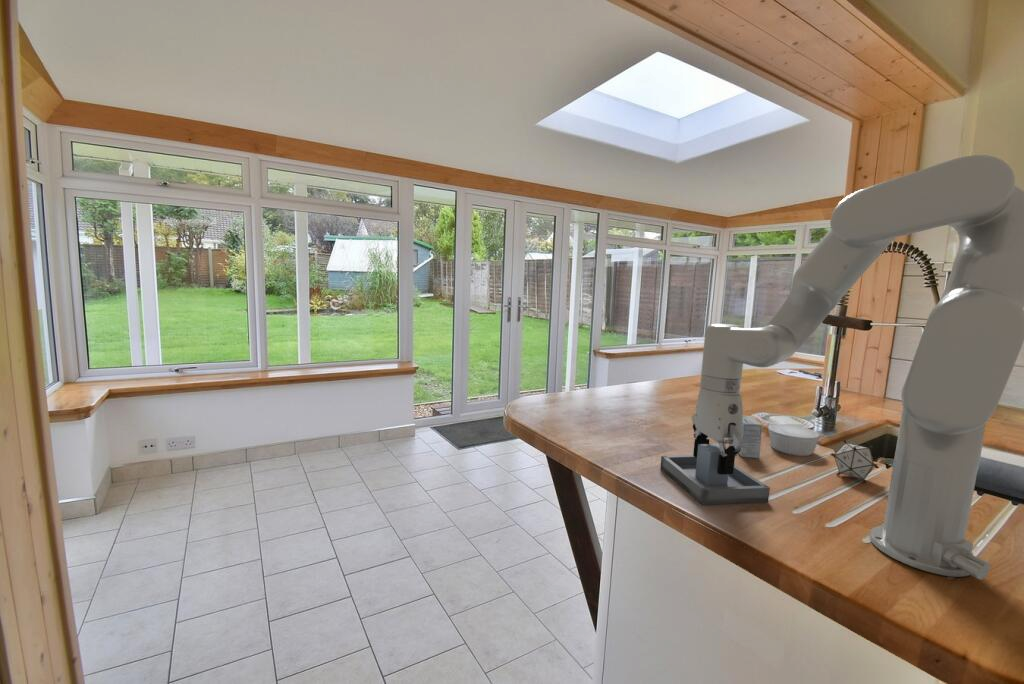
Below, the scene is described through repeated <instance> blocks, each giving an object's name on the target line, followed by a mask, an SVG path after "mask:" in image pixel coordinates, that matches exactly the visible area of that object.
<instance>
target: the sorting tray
mask: <svg viewBox="0 0 1024 684" xmlns="http://www.w3.org/2000/svg"><path fill="white" fill-rule="evenodd" d="M696 463H697V457H694V456H693V454H684V455H683V454H681V455H679V454H678V455H677V454H675V455H661V459H660V470H661V471H663V472H664V474H666V475H667V476H668V477H670V478H671V479H672V480H673V481H674V482H675V483H677V484H678V486H680V487H681V488H682V489H683V490H685V491H686V493H688V494H689V495H690V496H691V497H692V498H694V499H695V500H696V501H697V502H698V503H699V504H700V505H701V506H713V505H735V504H752V503H753V504H757V503H768V502H769V500H770V499H769V497H770V486H768V485H766V484H765V483H763V482H762V481H760V480H758V478H755V477H754V476H753V475H752V474H750V473H748V472H746V471H745V470H743V469H742V468H740V467H738V466H737V465H735V464H734V470H733V474H728V482H727V484H714V485H707V484H706V483H704V482H703V481H702V480H701V479H699V478H698V477H697V476H695V474H696Z"/></svg>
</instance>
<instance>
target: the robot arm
mask: <svg viewBox="0 0 1024 684" xmlns="http://www.w3.org/2000/svg"><path fill="white" fill-rule="evenodd" d="M1015 183H1016V178H1015V174H1014V171H1013V169H1012V168H1011V166H1010V165H1009V163H1007V162H1005V161H1004V160H1003V159H1001V158H999V157H996V156H993V155H987V154H972V155H966V156H961V157H957V158H953V159H950V160H947V161H944V162H941V163H938V164H935V165H934V164H933V165H931V166H929V167H925V168H922V169H920V170H916V171H914V172H911V173H908V174H904V175H901V176H898V177H896V178H892V179H890V180H886V181H883V182H879V183H876V184H874V185H871V186H868V187H864V188H862V189H859V190H857V191H854V192H853V193H850V194H849V195H847V196H845V198H843V199H842V200H840V201H839V202H838V204H837V205H836V206H835V208H834V209H833V211H832V213H831V215H830V216H831V217H830V220H829V224H830V228H829V230H828V231H827V232H826V234H825V235H824V236H823V237H822V238H821V239H820V241H819V242H818V244H817V245H816V246H815V247H814V248H813V250H812V251H811V252H810V253H809V254H808V256H806V258H805V259H804V260H803V262H802V263H801V264H800V265H799V266H798V268H797V269H796V271H795V272H794V275H793V277H792V282H791V288H790V292H789V294H788V295H787V298H786V299H785V301H784V302H783V303H782V305H781V307H780V308H779V309H778V311H777V312H775V314H774V315H773V317H772V318H770V320H769V321H768V322H767V324H766V325H765V326H760V327H750V328H749V327H746V328H744V327H743V325H738V324H732V323H731V324H730V323H712V324H709V325H708V326H707V327H706V329H705V333H704V343H703V353H702V365H701V375H700V382H699V383H700V384H699V392H698V397H697V403H696V408H695V413H694V414H692V415H691V421H692V429H693V438H694V442H693V443H694V445H693V452H692V453H693V454H692V455H693V456H694V457H697V452H698V444H710V439H712V440H713V441H715V442H716V443H717V444H719V447H720V451H721V454H722V455H719V458H718V468H717V473H718V474H720V475H724V474H733V470H734V465H735V459H736V457H737V456H738V454H739V452H740V450H741V448H742V447H743V445H744V444H745V442H744V440H743V438H742V423H743V415H744V411H743V409H744V407H743V397H742V395H741V386H742V376H743V369H744V368H743V367H744V365H748V366H751V367H755V368H770V367H772V366H775V365H777V364H779V363H780V364H781V363H782V362H784V361H786V360H788V359H790V358H791V357H792V356H793V355H794V354H795V353H797V351H798V350H799V349H800V348H801V347H802V345H804V344H805V342H807V341H808V339H809V338H810V337H811V335H812V334H814V332H815V331H816V330H817V329H818V328H819V326H820V325H821V324H822V323H823V322H824V320H825V319H826V318H827V316H828V315H829V314H831V312H832V311H833V310H834V309H835V308H836V307H837V305H838V304H839V303H840V302H841V299H843V297H844V296H846V294H847V293H848V291H850V290H851V288H852V287H853V286H854V285H855V284H856V283H857V282H858V280H859V279H860V278H861V277H862V276H863V275H864V274H865V273H866V271H867V270H868V269H869V268H870V267H871V265H872V264H874V262H875V261H877V259H878V258H879V257H880V256H881V255H882V254H883V253H884V251H886V250H887V248H888V247H889V246H890V244H891V243H893V241H894V240H895V239H896V238H898V237H904V236H908V235H911V234H915V233H916V234H917V233H919V232H924V231H927V230H932V229H935V228H939V227H943V226H944V227H945V226H949V227H951V228H953V229H954V230H955V231H956V233H957V235H958V238H959V246H958V249H957V252H956V255H955V258H954V261H953V263H952V266H951V271H950V274H949V277H948V279H947V282H946V284H945V287H944V289H943V292H942V295H941V297H940V299H939V301H938V303H937V304H936V305H935V306H934V307H933V308H932V309H931V311H930V313H929V316H927V320H926V323H925V325H924V328H923V331H922V334H921V335H920V339H919V342H918V346H917V348H916V350H915V354H914V356H913V359H912V362H911V365H910V368H909V370H908V374H907V376H906V378H905V382H904V384H903V386H902V390H901V398H900V399H901V404H902V412H901V417H900V424H899V427H898V428H899V430H898V435H897V440H896V448H895V451H894V458H893V463H892V464H893V465H892V471H891V477H890V484H889V489H888V490H889V491H888V496H887V502H886V503H887V504H886V510H885V516H884V521H883V525H878V526H874V527H873V528H871V530H870V533H869V538H870V541H871V543H872V544H873V545H874V546H875V548H877V549H879V551H881V552H882V553H884V554H886V556H888V557H890V558H892V559H893V560H896V561H898V562H899V563H900V562H901V563H902V564H904V565H907V566H909V567H912V568H915V569H917V570H921V571H924V572H927V573H931V574H936V575H940V576H944V577H945V576H946V577H953V578H955V577H956V578H957V577H959V578H963V577H968V576H972V577H974V578H976V579H978V580H982V581H983V580H984V579H985V578H987V576H988V574H989V571H990V570H991V568H992V564H991V563H990V562H988V561H986V560H984V559H983V558H980V557H979V556H976V555H974V553H973V546H974V543H973V542H971V541H970V540H968V539H966V535H967V530H968V526H969V525H968V524H969V519H970V514H971V510H972V509H971V507H972V502H973V497H974V492H975V487H976V486H975V485H976V480H977V474H978V471H979V467H980V461H981V458H982V457H981V456H982V450H983V444H984V438H985V432H986V425H987V422H988V421H989V420H990V419H991V417H992V416H993V415H994V413H995V411H996V409H997V407H998V404H999V402H1000V400H1001V397H1002V395H1003V392H1004V390H1005V388H1006V386H1007V383H1008V382H1009V381H1008V380H1009V379H1010V376H1011V373H1012V372H1013V369H1014V366H1015V364H1016V361H1017V360H1018V357H1019V355H1020V352H1021V349H1022V347H1023V344H1024V190H1022V189H1021V188H1019V187H1018V186H1017V185H1015ZM727 444H728V445H729V446H728V447H726V445H727Z"/></svg>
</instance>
